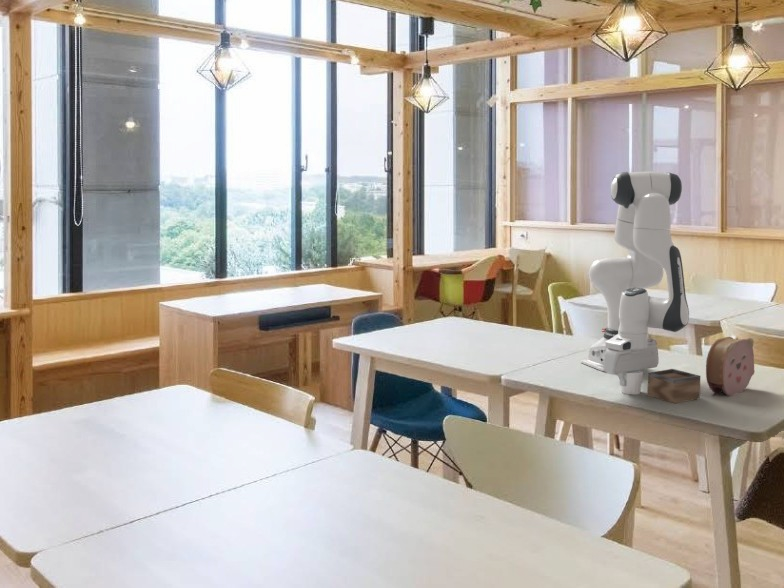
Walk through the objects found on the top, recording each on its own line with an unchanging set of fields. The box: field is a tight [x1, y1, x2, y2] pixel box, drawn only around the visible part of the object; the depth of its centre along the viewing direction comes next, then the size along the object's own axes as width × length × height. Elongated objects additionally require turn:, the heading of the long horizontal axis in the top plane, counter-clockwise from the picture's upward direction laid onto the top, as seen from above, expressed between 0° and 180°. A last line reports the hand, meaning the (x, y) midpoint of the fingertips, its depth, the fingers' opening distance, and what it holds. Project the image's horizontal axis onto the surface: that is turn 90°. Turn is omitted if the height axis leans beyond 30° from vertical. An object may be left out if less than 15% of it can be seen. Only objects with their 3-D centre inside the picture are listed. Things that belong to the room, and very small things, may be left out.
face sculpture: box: [705, 336, 755, 397], centre depth 251 cm, size 20×7×17 cm, turn 132°
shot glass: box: [620, 370, 644, 396], centre depth 251 cm, size 7×7×7 cm
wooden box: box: [647, 368, 701, 404], centre depth 245 cm, size 11×11×7 cm
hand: (631, 384), depth 251 cm, fingers closed on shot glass, 5 cm apart
